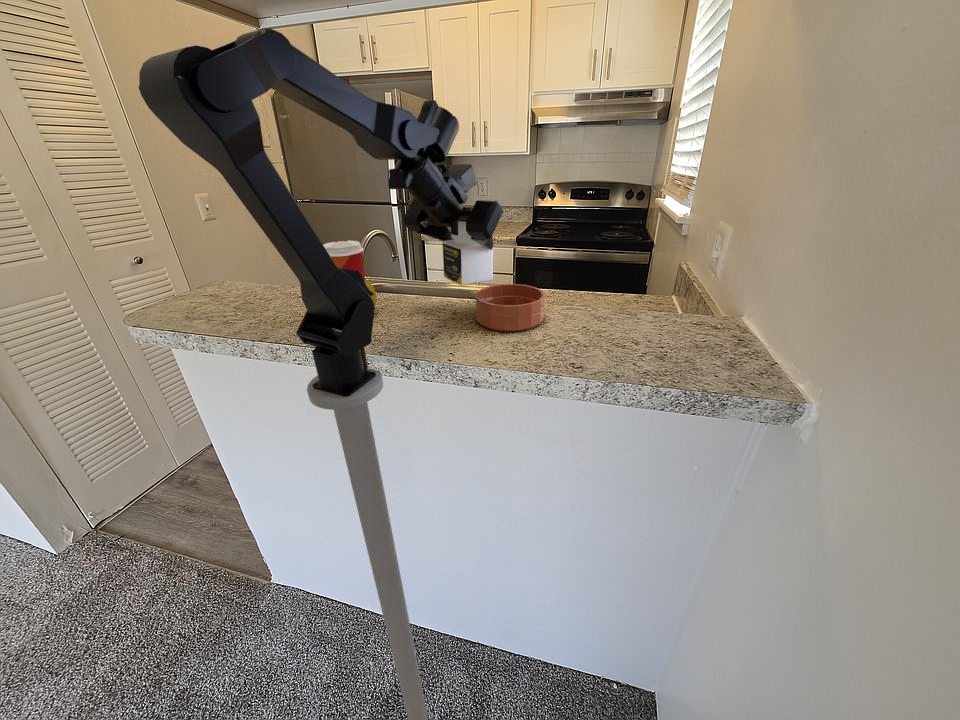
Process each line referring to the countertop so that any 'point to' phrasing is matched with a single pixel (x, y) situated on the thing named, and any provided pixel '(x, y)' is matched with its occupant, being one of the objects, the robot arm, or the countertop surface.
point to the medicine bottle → (466, 258)
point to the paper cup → (347, 255)
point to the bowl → (510, 307)
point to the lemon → (371, 290)
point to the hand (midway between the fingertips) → (472, 245)
